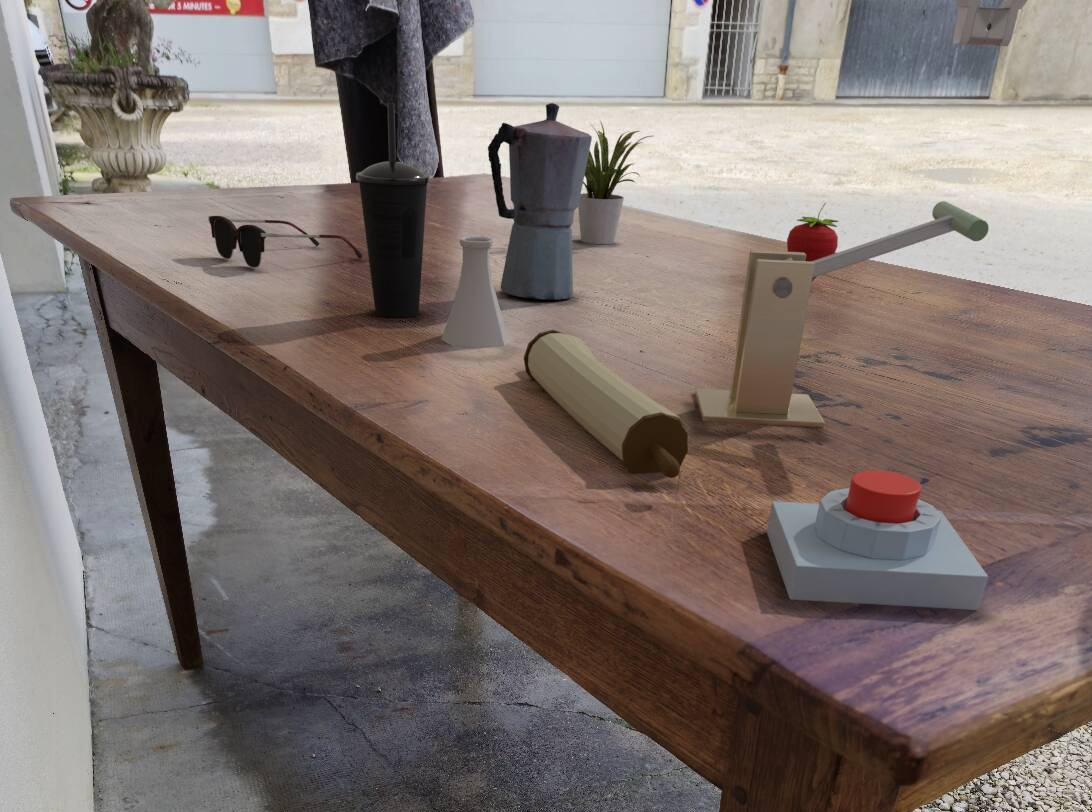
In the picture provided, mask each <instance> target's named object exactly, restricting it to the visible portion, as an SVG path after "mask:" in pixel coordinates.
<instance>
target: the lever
mask: <svg viewBox="0 0 1092 812" xmlns="http://www.w3.org/2000/svg"><path fill="white" fill-rule="evenodd" d="M931 213H932V218H933V220H930V221H927V222H925V223H921V224H919V225H916V226H913V227H910V228H907V229H904V230H901V231H898V232H895V233H892V234H889V235H886V236H883V237H880V238H877V239H874V240H870V241H868V242H866V243H862V244H860V245H856V246H854V247H850V248H847V249H844V250H841V251H838V252H835V253H834V254H832V255H830V256H827V257H824V258H821V259H818V260H815V261H812V262H813V263H814V264H815V267H814V273H813V278H814V277H816V278H818V277H820V276H823V275H826V274H828V273H831V272H835V271H838V270H841V269H844V268H846V267H849V266H852V265H856V264H859V263H862V262H865V261H868V260H870V259H873V258H876V257H879V256H883V255H885V254H889V253H891V252H894V251H898V250H900V249H903V248H906V247H909V246H913V245H916V244H918V243H920V242H925V241H927V240H930V239H933V238H937V237H939V236H942V235H945V234H947V233H951V232H956V233H958V234H960V235H962V236H963V237H965V238H967V239H969V240H970V241H973V242H980V241H982V240H984V239H985V238H986V236H987V235H988V233H989V230H990V229H989V227H990V226H989V223H988V222H987V221H986V220H984V219H983V218H981V217H978V216H977V215H975V214H973V213H970V212H969V211H966V210H964V209H962V208H960V207H958V206H956V205H954V204H952V203H950V202H947V201H946V200H941V201H939V202H937V203H936V204H935V205H934V207H933V208H932V211H931ZM784 260H787V261H793V260H792V259H791V258H787V259H784Z"/></svg>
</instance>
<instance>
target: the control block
mask: <svg viewBox="0 0 1092 812" xmlns="http://www.w3.org/2000/svg"><path fill="white" fill-rule="evenodd" d="M849 489H850V487H846V488H840V489H835V490H830V491H829V492H828V493H827V494H825V495H824V496H822V497H821V498H820V500H819V503H813V502H812V503H811V502H810V503H809V502H795V501H793V502H792V501H777V500H776V501H775V500H773V501H772V502H771V505H770V510H769V516H768V522H767V528H766V535H767V537H768V540H769V543H770V546H771V549H772V551H773V552H772V553H773V555H774V558H775V561H776V563H777V566H778V569H779V572H780V576H781V579H782V581H783V583H784V587H785V589H786V592H787V595H788V598H789V600H791V601H806V602H807V601H809V602H825V603H828V602H829V603H844V604H858V605H859V604H861V605H879V606H895V607H911V608H928V609H929V608H930V609H948V610H966V611H978V610H979V608H980V604H981V602H982V598H983V596H984V592H985V589H986V585H987V583H988V580H989V575H988V574H987V572H986V571H985V569H983V567H982V566H981V564H980V563H979V561H978V560H977V559H976V558H975V556H974V554H973V553H972V552H971V551H970V549H969V548H968V546H967V544H966V543H965V542H964V540H963V539H962V538H961V536H960V535H959V534H958V532H957V531H956V529H955V528H954V527H953V525H952V524H951V522H950V521H949V519H948V518H947V517H946V516H945V515H944V513H943V511H942V510H938V509H936V508H935V506H933V505H932V504H930V503H928V502H926V501H924V500H922V499H919V498H918V502H917V506H916V510H915V513H914V517H913V520H912V521H911V522H906V523H901V524H896V523H878V522H873V521H869V520H865V519H861V518H858V517H856V516H855V515H853V514H851V513H849V512H847V511H845V507H846V502H847V498H848V493H849Z"/></svg>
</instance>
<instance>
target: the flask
mask: <svg viewBox="0 0 1092 812" xmlns="http://www.w3.org/2000/svg"><path fill="white" fill-rule="evenodd" d="M493 243H494V239H493V238H490V237H487V236H475V235H473V236H462V237H461V238H460V239H459V245H460V247H461V248H462V264H461V269H460V277H459V283H458V286H457V289H456V291H455V292H456V293H455V296H454V298H453V303H452V305H451V308H450V312H449V315H448V318H447V320H446V324H445V327H444V330H443V333H442V336H441V340H442V341H443V342H445V343H446V344H448V345H450V346H451V347H459V348H470V349H487V348H498V347H499V348H500V347H505V346H506V345H507V343H509V341H510V336H509V333H508V331H507V326H506V324H505V321H504V317H503V315H502V311H501V308H500V304H499V301H498V297H497V293H496V289H495V286H494V283H493V276H492V268H491V261H490V259H491V255H490V254H491V252H490V251H491V247H492V246H493Z"/></svg>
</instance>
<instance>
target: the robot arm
mask: <svg viewBox="0 0 1092 812" xmlns="http://www.w3.org/2000/svg"><path fill="white" fill-rule="evenodd" d="M1028 1H1029V0H1003V1H1002V2H1001V3H1000V5H999V6H998V7H997V8H993V7H981V5H980V0H955V2H956V5H957V8H959V10H958V13H957V18H956V23H955V26H954V33H953V36H952V37H953V38H952V43H953V45H967V46H968V45H969V46H970V45H971V46H972V45H973V46H991V47H1008V46H1009V45H1010V43H1011V41H1012V38H1013V34H1014V30H1015V27H1016V23H1017V18H1018V14H1019V10H1022V8H1023V7H1024V6H1025V5H1026V3H1027V2H1028Z"/></svg>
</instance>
